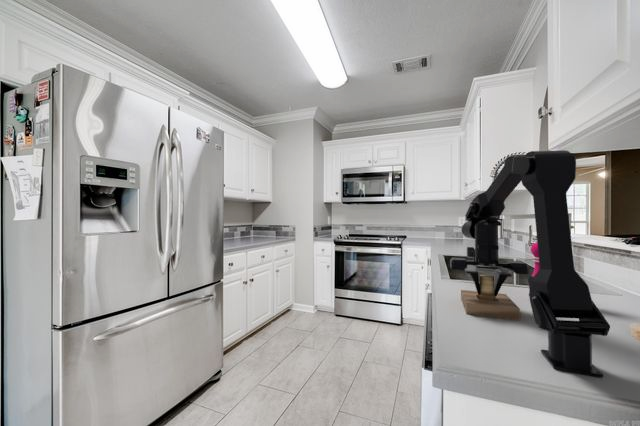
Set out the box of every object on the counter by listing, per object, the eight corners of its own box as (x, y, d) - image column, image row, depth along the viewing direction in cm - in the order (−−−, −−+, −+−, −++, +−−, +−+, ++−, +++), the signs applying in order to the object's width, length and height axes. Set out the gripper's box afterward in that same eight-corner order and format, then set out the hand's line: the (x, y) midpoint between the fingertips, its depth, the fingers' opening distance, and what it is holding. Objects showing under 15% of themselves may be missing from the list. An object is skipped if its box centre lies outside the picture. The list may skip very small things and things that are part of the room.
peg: (496, 306, 74) (495, 278, 74) (480, 305, 76) (480, 277, 76) (493, 303, 78) (492, 275, 78) (478, 301, 79) (478, 274, 79)
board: (519, 320, 68) (519, 308, 68) (466, 313, 72) (466, 302, 72) (505, 303, 81) (505, 293, 81) (461, 299, 85) (461, 289, 85)
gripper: (517, 240, 81) (517, 291, 80) (448, 238, 88) (449, 285, 88) (529, 243, 70) (530, 302, 70) (451, 241, 78) (451, 294, 77)
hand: (487, 295), depth 77 cm, fingers closed on peg, 4 cm apart
